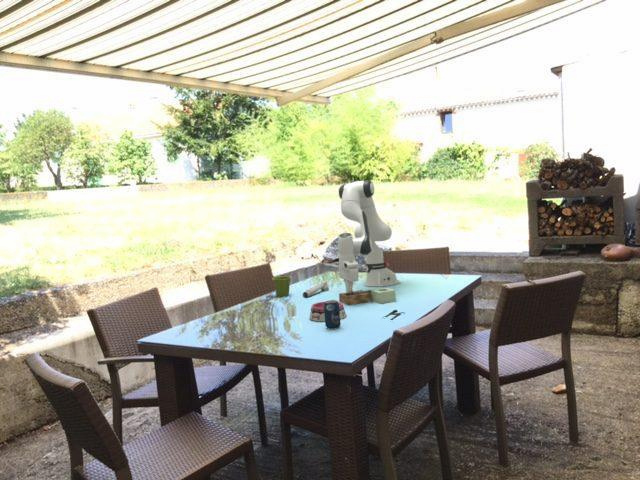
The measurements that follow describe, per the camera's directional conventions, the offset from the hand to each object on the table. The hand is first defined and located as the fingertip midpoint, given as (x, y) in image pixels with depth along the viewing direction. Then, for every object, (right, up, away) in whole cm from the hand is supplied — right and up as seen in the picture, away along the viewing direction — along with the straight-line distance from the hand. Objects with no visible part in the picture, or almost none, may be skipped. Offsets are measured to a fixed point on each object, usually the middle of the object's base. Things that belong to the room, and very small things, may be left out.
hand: (349, 287), depth 291 cm
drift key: (+11, -7, +4) cm, 13 cm away
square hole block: (+19, -7, -3) cm, 20 cm away
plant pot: (-39, -8, +36) cm, 54 cm away
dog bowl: (-12, -12, -30) cm, 35 cm away
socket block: (+3, -8, +2) cm, 9 cm away
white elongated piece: (-18, -7, +34) cm, 39 cm away
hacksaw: (+19, -11, -41) cm, 47 cm away
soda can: (-10, -14, -50) cm, 53 cm away
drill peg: (+1, -8, +1) cm, 8 cm away
